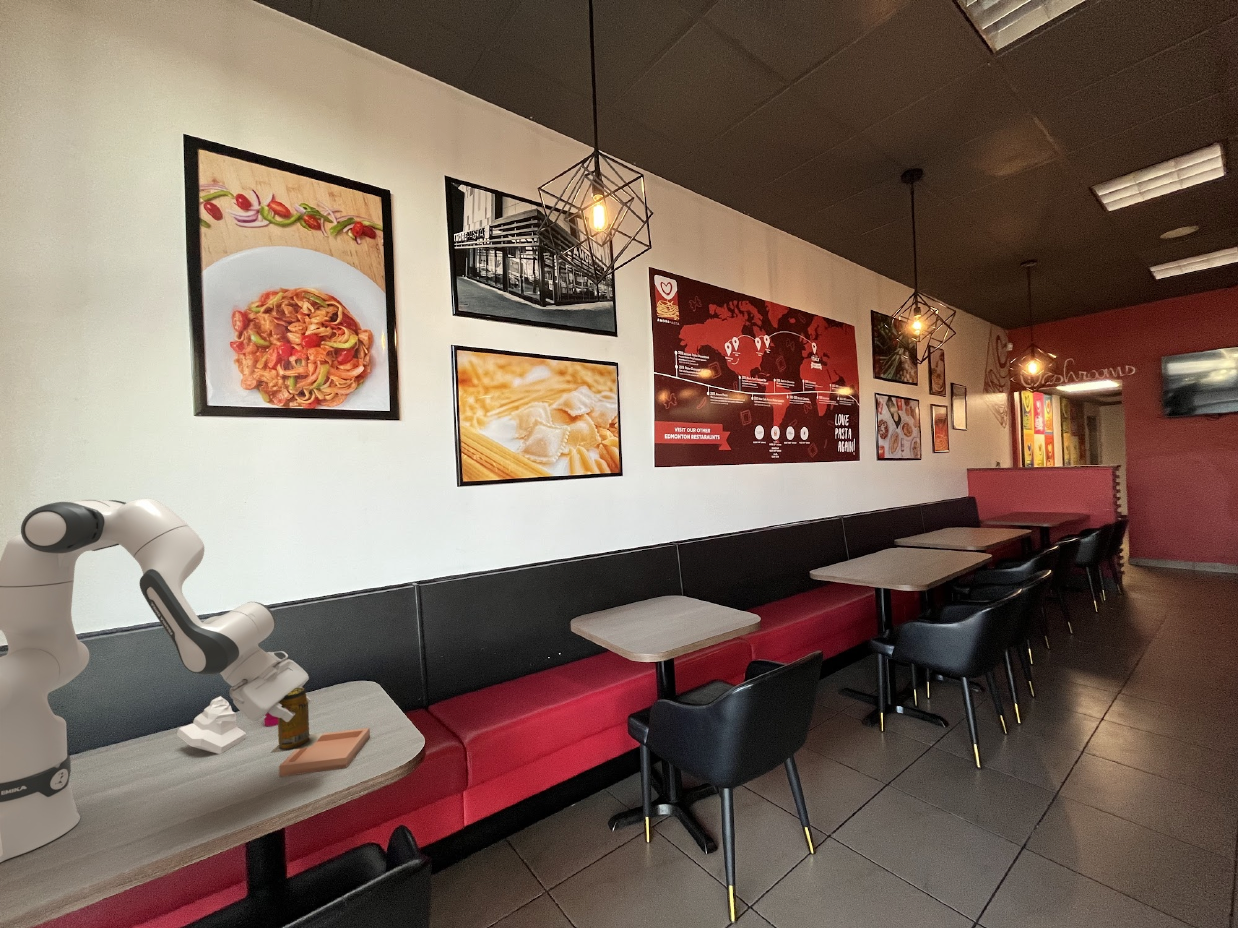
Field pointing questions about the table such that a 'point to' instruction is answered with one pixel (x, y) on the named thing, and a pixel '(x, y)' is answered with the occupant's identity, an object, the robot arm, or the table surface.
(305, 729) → the condiment
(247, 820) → the table surface
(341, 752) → the tray
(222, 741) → the white stepped rock sculpture
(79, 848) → the table surface
